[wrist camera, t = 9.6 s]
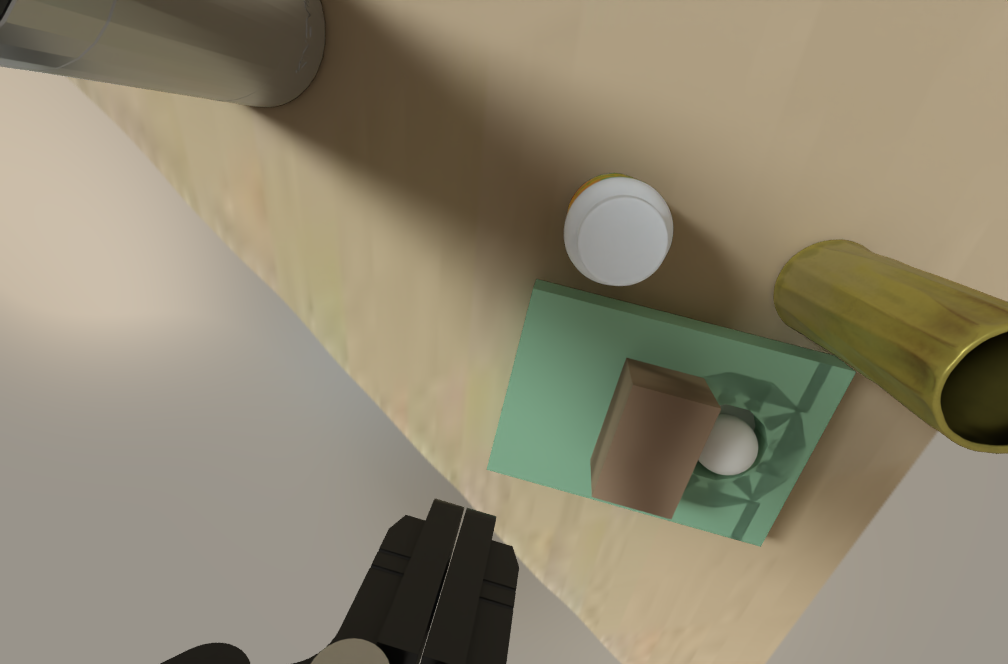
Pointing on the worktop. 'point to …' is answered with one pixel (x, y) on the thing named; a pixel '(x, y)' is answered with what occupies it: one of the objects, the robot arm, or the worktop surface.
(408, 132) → the worktop surface
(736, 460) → the ball
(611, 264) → the supplement bottle
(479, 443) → the worktop surface
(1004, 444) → the vase
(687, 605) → the worktop surface
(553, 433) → the green
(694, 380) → the block
